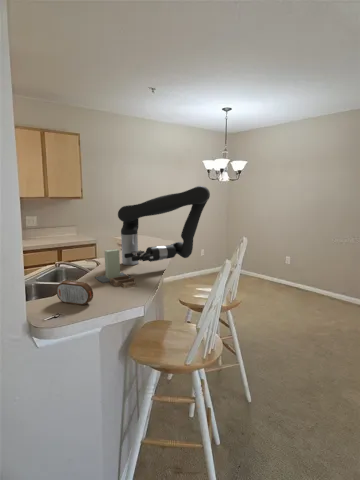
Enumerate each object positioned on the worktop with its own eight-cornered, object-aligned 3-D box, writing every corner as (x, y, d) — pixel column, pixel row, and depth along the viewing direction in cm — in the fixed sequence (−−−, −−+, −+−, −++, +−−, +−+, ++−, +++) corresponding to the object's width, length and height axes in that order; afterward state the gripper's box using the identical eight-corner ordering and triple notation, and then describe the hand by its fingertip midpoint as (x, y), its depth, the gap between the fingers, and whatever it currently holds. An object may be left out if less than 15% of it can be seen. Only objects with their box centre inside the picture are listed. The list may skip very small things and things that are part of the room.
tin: (94, 304, 118) (93, 282, 117) (89, 307, 115) (88, 284, 114) (61, 299, 123) (59, 279, 122) (55, 302, 120) (54, 281, 119)
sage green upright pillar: (105, 277, 152) (104, 250, 150) (117, 275, 155) (116, 249, 153) (108, 278, 149) (107, 251, 147) (120, 276, 153) (119, 250, 151)
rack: (109, 282, 145) (109, 278, 145) (127, 279, 150) (127, 275, 150) (116, 286, 139) (115, 281, 139) (134, 282, 144) (134, 278, 144)
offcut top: (121, 285, 140) (121, 283, 140) (132, 283, 143) (132, 281, 143) (124, 287, 138) (124, 284, 137) (135, 285, 140) (135, 282, 140)
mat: (95, 278, 153) (95, 277, 152) (122, 273, 160) (122, 272, 160) (102, 283, 144) (102, 281, 144) (130, 278, 152) (130, 276, 152)
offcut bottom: (120, 287, 140) (120, 285, 140) (133, 285, 144) (133, 283, 143) (124, 289, 137) (124, 287, 137) (136, 287, 141) (136, 285, 140)
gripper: (150, 244, 170) (122, 247, 161) (163, 248, 158) (134, 252, 149) (150, 258, 171) (122, 262, 162) (164, 263, 159) (134, 267, 150)
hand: (128, 257), depth 156 cm, fingers open, 8 cm apart
